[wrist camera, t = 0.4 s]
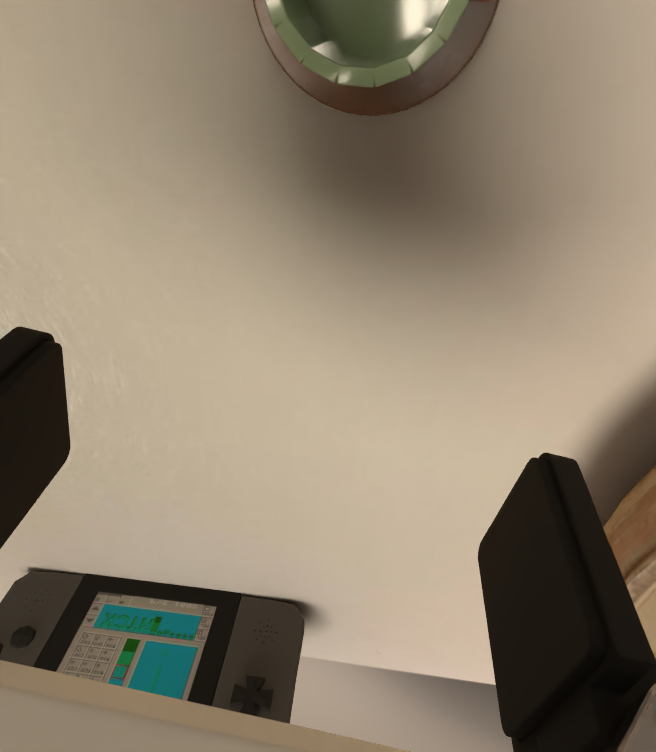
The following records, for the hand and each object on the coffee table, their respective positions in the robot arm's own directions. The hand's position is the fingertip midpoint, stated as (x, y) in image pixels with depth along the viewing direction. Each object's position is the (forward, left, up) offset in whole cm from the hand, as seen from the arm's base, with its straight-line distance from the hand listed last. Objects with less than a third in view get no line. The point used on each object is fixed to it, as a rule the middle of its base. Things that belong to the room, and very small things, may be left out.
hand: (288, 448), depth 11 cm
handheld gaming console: (+32, -12, -17) cm, 38 cm away
